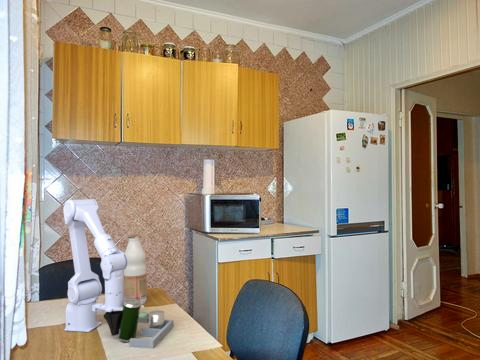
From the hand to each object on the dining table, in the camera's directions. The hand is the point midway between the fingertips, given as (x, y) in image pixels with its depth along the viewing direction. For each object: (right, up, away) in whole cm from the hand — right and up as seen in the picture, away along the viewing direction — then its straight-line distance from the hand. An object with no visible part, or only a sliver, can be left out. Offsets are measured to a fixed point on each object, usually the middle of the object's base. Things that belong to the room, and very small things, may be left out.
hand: (115, 334), depth 116 cm
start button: (+5, -2, +16) cm, 17 cm away
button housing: (+5, -2, +16) cm, 17 cm away
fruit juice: (-4, -2, +36) cm, 36 cm away
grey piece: (+12, -1, +2) cm, 12 cm away
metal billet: (+12, -1, +6) cm, 13 cm away
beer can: (+4, -1, -1) cm, 4 cm away
